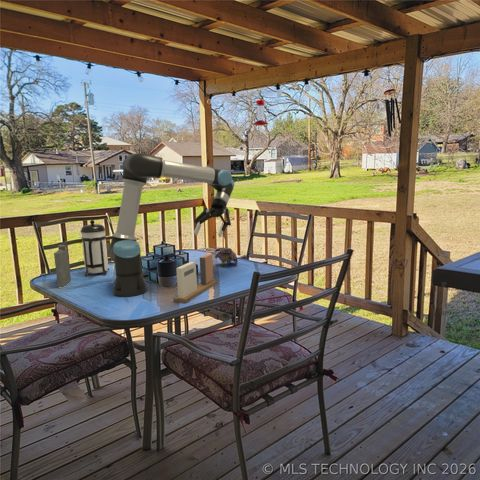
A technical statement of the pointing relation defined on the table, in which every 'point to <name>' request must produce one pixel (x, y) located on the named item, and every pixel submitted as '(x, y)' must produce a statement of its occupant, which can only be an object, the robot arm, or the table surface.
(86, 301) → the table surface
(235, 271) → the table surface
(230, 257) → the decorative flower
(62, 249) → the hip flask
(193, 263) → the ticket holder
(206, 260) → the orange book
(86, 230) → the coffee press
